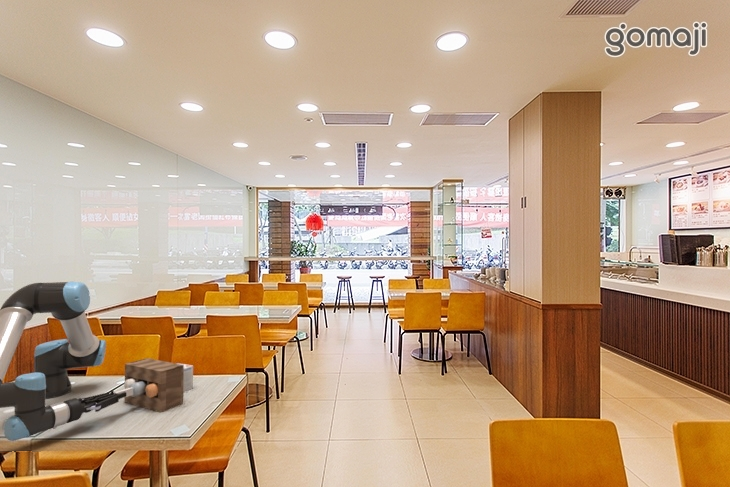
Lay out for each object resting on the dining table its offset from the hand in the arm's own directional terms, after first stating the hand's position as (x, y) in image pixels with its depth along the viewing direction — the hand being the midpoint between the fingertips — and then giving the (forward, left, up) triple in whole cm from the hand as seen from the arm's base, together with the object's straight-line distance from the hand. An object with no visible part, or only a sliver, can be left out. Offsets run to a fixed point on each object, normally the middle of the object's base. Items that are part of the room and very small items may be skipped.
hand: (132, 390), depth 155 cm
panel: (0, +9, -8) cm, 12 cm away
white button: (-7, +7, -2) cm, 10 cm away
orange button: (+7, +7, -2) cm, 10 cm away
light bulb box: (-5, +25, -8) cm, 27 cm away
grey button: (0, +4, -2) cm, 5 cm away
